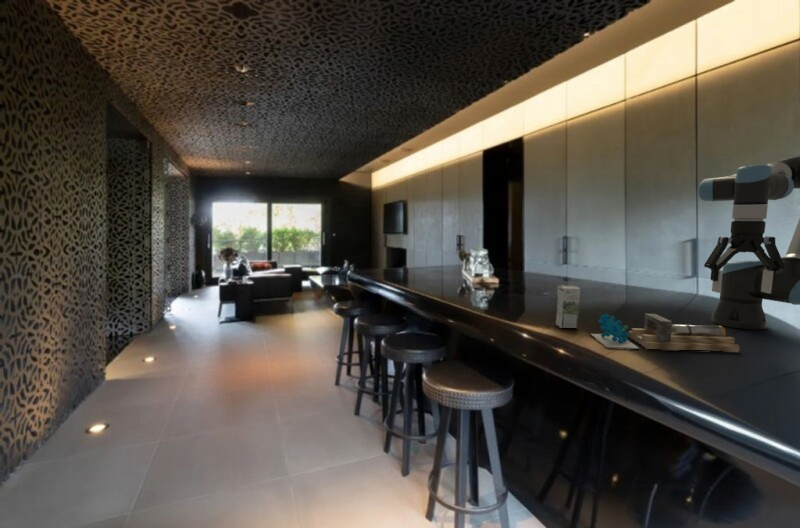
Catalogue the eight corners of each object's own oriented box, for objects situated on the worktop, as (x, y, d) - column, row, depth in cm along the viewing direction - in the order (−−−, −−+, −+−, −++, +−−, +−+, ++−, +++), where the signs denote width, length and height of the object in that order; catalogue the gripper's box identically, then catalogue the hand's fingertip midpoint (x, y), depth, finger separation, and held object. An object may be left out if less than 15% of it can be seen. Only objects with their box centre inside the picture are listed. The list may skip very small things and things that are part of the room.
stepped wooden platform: (710, 339, 126) (713, 314, 125) (738, 352, 114) (741, 324, 113) (627, 337, 128) (629, 312, 127) (647, 349, 116) (649, 322, 115)
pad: (619, 336, 129) (619, 334, 129) (639, 349, 116) (639, 347, 116) (590, 335, 130) (590, 333, 130) (606, 348, 117) (607, 346, 117)
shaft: (717, 335, 122) (718, 324, 121) (725, 339, 118) (726, 327, 118) (665, 334, 123) (666, 323, 123) (672, 337, 120) (673, 326, 119)
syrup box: (571, 324, 143) (573, 284, 141) (578, 329, 137) (580, 287, 135) (555, 324, 143) (557, 284, 141) (561, 329, 137) (563, 287, 135)
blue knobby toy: (611, 340, 117) (596, 311, 123) (597, 350, 121) (583, 321, 127) (638, 341, 121) (621, 313, 127) (623, 350, 125) (608, 322, 131)
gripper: (784, 219, 118) (776, 290, 120) (694, 220, 120) (688, 289, 123) (807, 220, 110) (798, 295, 113) (710, 220, 113) (704, 294, 116)
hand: (740, 292), depth 118 cm, fingers open, 13 cm apart
